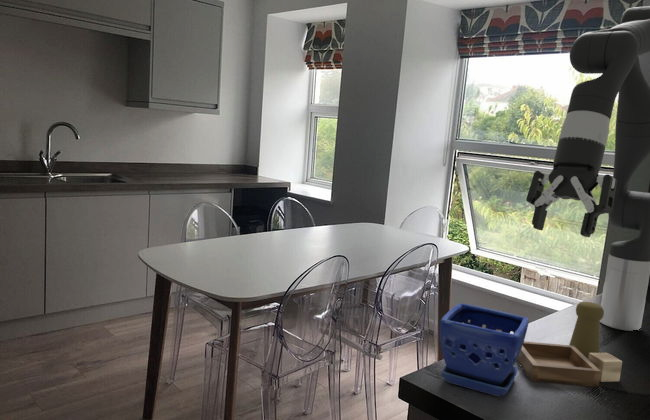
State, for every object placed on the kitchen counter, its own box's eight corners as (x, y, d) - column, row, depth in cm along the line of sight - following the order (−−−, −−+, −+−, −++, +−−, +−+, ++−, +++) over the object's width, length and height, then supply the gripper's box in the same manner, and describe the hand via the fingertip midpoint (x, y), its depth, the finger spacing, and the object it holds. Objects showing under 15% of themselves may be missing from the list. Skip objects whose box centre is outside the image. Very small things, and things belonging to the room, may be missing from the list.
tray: (511, 354, 110) (513, 340, 110) (571, 359, 110) (573, 345, 109) (531, 380, 98) (533, 365, 98) (598, 387, 98) (600, 371, 98)
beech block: (586, 372, 104) (589, 352, 104) (604, 372, 105) (607, 352, 105) (600, 382, 100) (603, 361, 100) (619, 381, 101) (622, 361, 101)
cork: (603, 361, 110) (611, 309, 109) (571, 357, 111) (579, 305, 110) (594, 350, 116) (602, 300, 114) (564, 346, 117) (571, 297, 116)
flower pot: (451, 359, 106) (457, 300, 104) (522, 377, 100) (530, 315, 98) (431, 384, 94) (438, 318, 92) (510, 407, 88) (520, 337, 86)
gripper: (634, 150, 91) (612, 243, 90) (554, 148, 102) (534, 231, 101) (614, 135, 86) (591, 233, 85) (533, 135, 97) (512, 222, 96)
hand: (560, 232), depth 93 cm, fingers open, 8 cm apart
